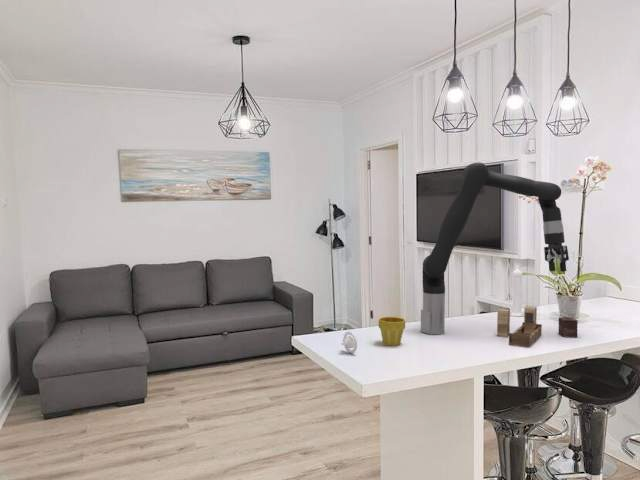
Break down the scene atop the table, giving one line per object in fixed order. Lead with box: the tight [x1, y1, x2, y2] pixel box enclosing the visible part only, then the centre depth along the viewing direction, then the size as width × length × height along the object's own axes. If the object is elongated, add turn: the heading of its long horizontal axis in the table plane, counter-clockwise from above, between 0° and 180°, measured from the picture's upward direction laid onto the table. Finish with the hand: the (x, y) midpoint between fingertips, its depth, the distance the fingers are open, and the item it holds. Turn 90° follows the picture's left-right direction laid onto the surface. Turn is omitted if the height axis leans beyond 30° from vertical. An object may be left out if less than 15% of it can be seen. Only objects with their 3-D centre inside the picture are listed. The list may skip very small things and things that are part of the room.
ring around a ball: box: [341, 330, 358, 354], centre depth 187 cm, size 8×6×8 cm
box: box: [557, 316, 578, 339], centre depth 214 cm, size 6×6×7 cm
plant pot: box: [378, 316, 406, 347], centre depth 201 cm, size 10×10×10 cm
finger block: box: [496, 308, 511, 338], centre depth 214 cm, size 4×4×11 cm
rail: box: [508, 305, 543, 349], centre depth 207 cm, size 24×8×12 cm, turn 147°
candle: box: [510, 265, 524, 318], centre depth 255 cm, size 7×7×25 cm
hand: (557, 271), depth 212 cm, fingers open, 8 cm apart
